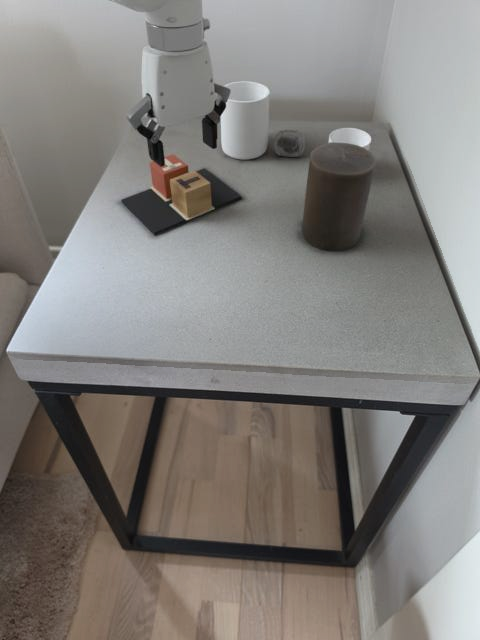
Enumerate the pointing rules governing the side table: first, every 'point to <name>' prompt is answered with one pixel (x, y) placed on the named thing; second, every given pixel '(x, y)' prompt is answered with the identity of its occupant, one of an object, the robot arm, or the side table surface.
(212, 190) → the word mat
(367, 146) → the cup
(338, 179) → the pillar candle
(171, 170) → the terracotta block
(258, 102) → the mug
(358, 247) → the side table surface
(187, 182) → the maple block
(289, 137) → the fossil
